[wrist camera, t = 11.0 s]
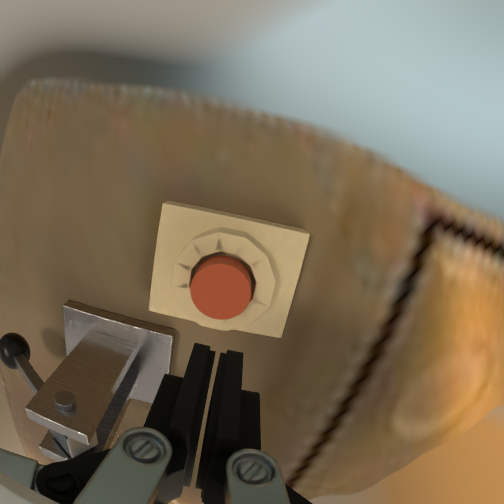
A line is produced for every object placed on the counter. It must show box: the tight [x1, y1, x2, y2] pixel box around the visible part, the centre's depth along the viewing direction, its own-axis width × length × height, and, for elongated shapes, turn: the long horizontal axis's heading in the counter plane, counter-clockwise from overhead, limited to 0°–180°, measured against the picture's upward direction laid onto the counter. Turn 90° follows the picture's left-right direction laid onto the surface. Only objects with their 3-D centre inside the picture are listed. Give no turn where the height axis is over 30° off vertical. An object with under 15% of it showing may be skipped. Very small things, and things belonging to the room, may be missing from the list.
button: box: [190, 256, 251, 320], centre depth 19 cm, size 4×4×2 cm
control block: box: [149, 201, 310, 338], centre depth 21 cm, size 10×8×4 cm
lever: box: [0, 333, 98, 458], centre depth 17 cm, size 13×3×3 cm
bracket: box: [25, 300, 176, 462], centre depth 19 cm, size 10×8×12 cm
